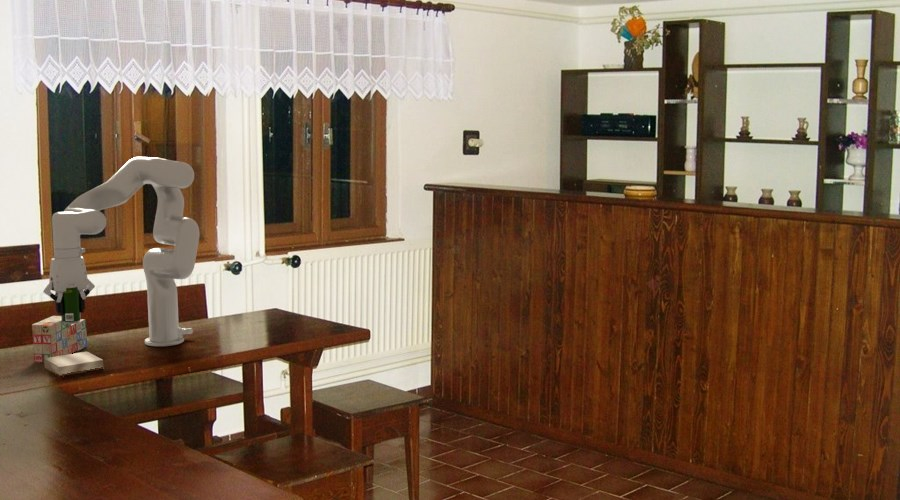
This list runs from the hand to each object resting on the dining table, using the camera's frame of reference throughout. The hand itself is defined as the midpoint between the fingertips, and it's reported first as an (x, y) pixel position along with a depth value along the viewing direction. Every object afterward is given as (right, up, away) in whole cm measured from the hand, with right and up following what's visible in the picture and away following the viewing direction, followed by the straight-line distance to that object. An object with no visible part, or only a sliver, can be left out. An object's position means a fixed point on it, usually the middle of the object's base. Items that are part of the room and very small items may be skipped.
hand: (70, 312), depth 312 cm
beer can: (0, -3, 0) cm, 3 cm away
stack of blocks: (-10, -15, +20) cm, 27 cm away
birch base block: (0, -17, +3) cm, 17 cm away
